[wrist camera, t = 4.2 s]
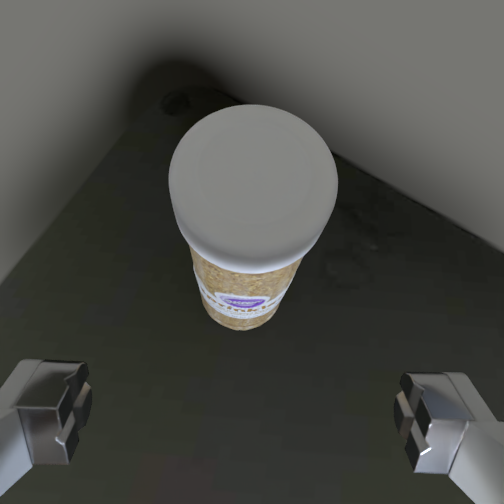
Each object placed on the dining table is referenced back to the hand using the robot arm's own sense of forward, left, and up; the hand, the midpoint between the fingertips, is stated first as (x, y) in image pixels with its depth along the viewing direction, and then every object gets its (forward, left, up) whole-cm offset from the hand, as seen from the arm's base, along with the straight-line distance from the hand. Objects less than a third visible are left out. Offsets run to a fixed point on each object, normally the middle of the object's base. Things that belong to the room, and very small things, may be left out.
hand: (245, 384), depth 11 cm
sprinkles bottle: (-2, +5, -12) cm, 13 cm away
